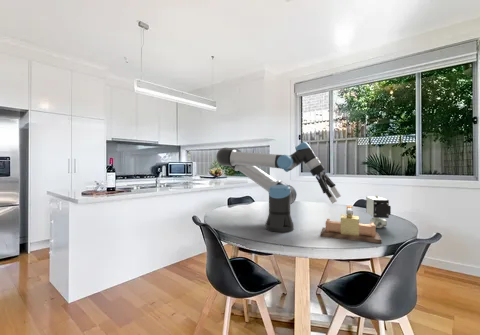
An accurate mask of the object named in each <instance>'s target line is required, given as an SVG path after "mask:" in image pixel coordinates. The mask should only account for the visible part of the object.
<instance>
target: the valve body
mask: <svg viewBox="0 0 480 335" xmlns="http://www.w3.org/2000/svg"><path fill="white" fill-rule="evenodd" d="M325 228H326V232H338V233H341V234H342V235H352V236H359V235H367V236H372V237H375V236H376V233H377V232H376V227H375V225H374V223H371V222H370V223H360V216H359V215H354V214H353V215H348V214H340V221H337V220H331V219H330V218H326V221H325Z"/></svg>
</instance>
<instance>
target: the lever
mask: <svg viewBox="0 0 480 335" xmlns="http://www.w3.org/2000/svg"><path fill="white" fill-rule="evenodd" d="M345 213H346V214H345V215H347V214H348V215H353V216H354V210H353V205H346V212H345Z"/></svg>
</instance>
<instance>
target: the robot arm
mask: <svg viewBox="0 0 480 335" xmlns="http://www.w3.org/2000/svg"><path fill="white" fill-rule="evenodd" d="M215 158H216V161H217V163H218V164H219V165H220V166H223V167H230V168H231V169H232V170H234V171H235V172H238V171H239V172H240V173H241V174H243V175H245V176H246V177H247V178H249V179H250V180H252V181H253V182H254V183H256V184H257V185H258V186H260V187H261V188H262V189H264V190H265V191H266V192H268V216H267V219H266V222H265V229H266V230H268V231H270V232H275V233H286V232H287V233H288V232H293V231H294V230H295V229H294V228H295V226H294V222H293V219H292V216H291V205H292V204H293V203H295V201H296V199H297V197H298V195H297V190H296V189H295V187H293V186H292V185H290V184H287V183H285V182H284V181H283V180H282V179H281V180H276V179H275V178H274V177H272V176H271V175H269V174H268V173H267V172H265V171H264V170H263V169H261V168H262V167H263V168H270V169H271V168H272V169H281V170H283V171H284V172H286V173H287V172H289V171H292V170H293V169H295V168H296V167H298V166H299V165H301V164H305V166H306V168H307V169H308V170H309V172H310V173H311V175H312V176H313V177H315V178H316V180H317V182H318V184H319V186H320V188H321V191H322V193H323V194H325V195H326V196H327V198H328V199H329V201H330V203H331V204H335V203H337V202H338V200H337V199H339V198H340V197H341V196H342V195H341V194H340V192H339V191H338V189H337V187H336V183H334V182H333V181H332V179H331V178H330V177H329V176H328V175H327V173H326V172H325V169H326V168H325V166H324V165H323V164H322V163H321V161H320V158H319V157H317V155H316V153H315V152H314V150H313V149H312V148H311V146H310V144H308V142H307V141H303V142H301V143H299V144H298V145H297V146H295V151H294V152H292V154H290V155H288V154H273V153H263V152H261V153H260V152H249V151H248V152H247V151H246V152H245V151H241V150H239V149H238V148H233V147H232V148H231V147H222V148H220V149H219V150H218V151H217V153H216V157H215ZM259 167H260V168H259Z"/></svg>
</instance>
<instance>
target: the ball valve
mask: <svg viewBox="0 0 480 335" xmlns="http://www.w3.org/2000/svg"><path fill="white" fill-rule="evenodd" d="M365 197H366V199H365V200H366V201H365V206H366V208H365V211H366V212H365V213H367V214H368V215H370V216H371V219H370V224H371V223H374V225H375V227H376V228H377V229H382V228H384V227H387V225H388V221H387V220H386V219H389V217H390V216H391V215H392V214H391V211H392V210H391V209H392V208H391V205H390V201H389V199H387V198H384V197H381V196H379V195H378V194H375V196H365Z"/></svg>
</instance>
